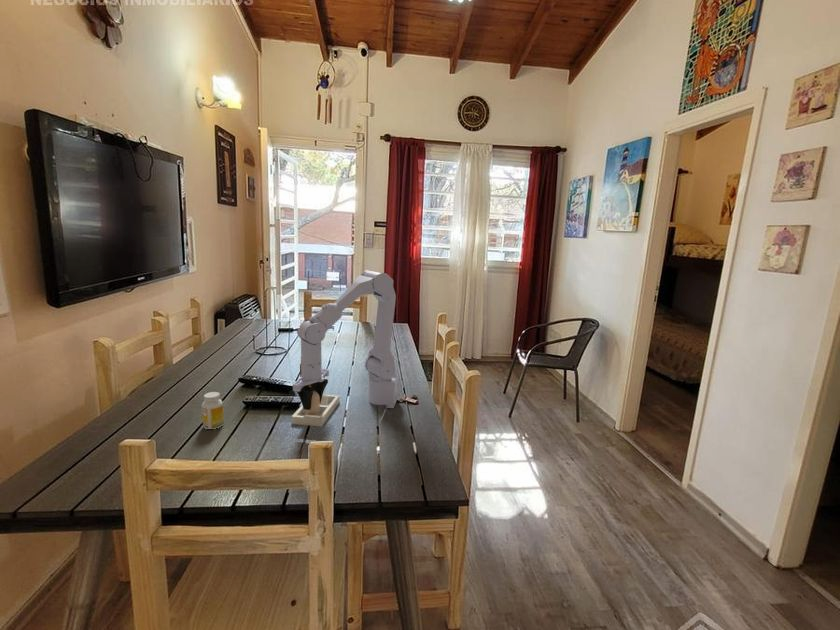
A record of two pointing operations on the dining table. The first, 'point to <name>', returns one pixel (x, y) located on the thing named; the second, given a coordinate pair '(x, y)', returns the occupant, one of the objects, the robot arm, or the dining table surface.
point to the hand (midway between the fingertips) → (312, 405)
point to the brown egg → (314, 405)
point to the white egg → (324, 400)
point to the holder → (319, 418)
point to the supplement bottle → (212, 411)
